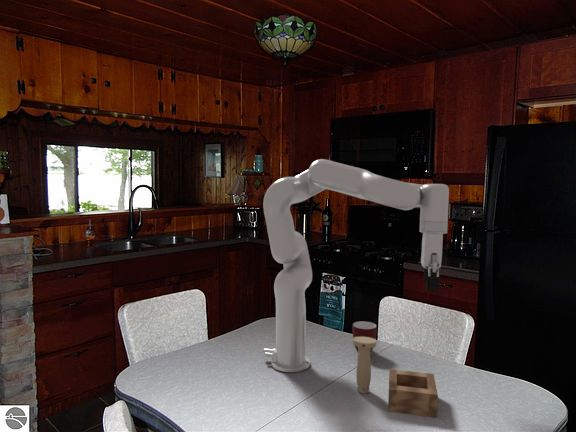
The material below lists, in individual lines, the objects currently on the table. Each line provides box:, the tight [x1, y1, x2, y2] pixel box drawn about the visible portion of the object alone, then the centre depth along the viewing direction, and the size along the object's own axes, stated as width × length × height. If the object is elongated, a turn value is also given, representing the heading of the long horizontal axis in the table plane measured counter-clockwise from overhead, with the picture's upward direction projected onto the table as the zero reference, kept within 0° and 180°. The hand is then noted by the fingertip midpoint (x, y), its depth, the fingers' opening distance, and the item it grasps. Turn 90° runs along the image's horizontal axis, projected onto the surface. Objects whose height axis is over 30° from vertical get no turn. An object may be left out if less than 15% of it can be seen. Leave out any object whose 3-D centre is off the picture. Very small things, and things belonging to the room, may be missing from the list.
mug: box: [352, 320, 378, 354], centre depth 151 cm, size 11×8×10 cm
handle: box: [352, 337, 377, 394], centre depth 123 cm, size 5×6×15 cm
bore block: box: [387, 368, 439, 418], centre depth 118 cm, size 12×12×6 cm
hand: (430, 285), depth 127 cm, fingers open, 9 cm apart
